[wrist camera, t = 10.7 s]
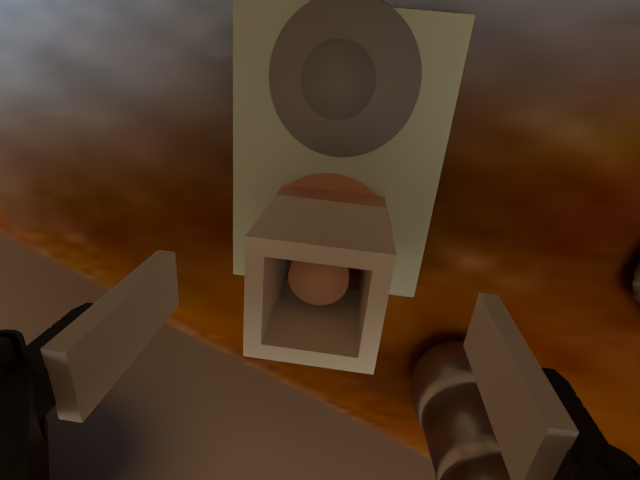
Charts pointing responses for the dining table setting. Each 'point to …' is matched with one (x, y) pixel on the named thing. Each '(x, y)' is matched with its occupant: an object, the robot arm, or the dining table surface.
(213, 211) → the dining table surface
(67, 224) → the dining table surface
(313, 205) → the sleeve
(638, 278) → the elongated rock
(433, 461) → the plastic bottle
